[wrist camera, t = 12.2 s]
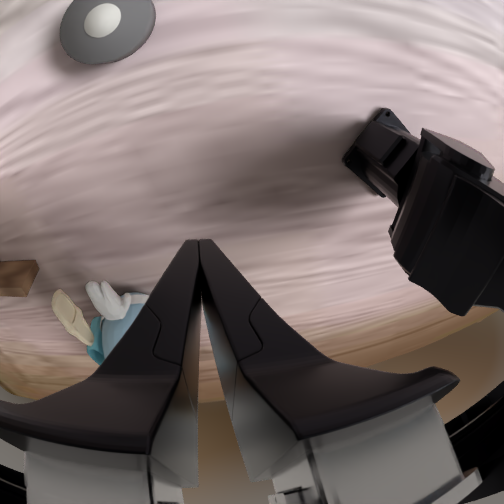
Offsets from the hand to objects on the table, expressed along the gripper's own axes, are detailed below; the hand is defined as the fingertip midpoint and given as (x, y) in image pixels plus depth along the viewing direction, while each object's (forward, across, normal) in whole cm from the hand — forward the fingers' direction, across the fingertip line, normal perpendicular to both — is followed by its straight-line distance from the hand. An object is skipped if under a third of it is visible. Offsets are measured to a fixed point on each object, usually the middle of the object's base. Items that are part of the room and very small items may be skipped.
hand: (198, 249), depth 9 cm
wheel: (+13, +6, -9) cm, 17 cm away
